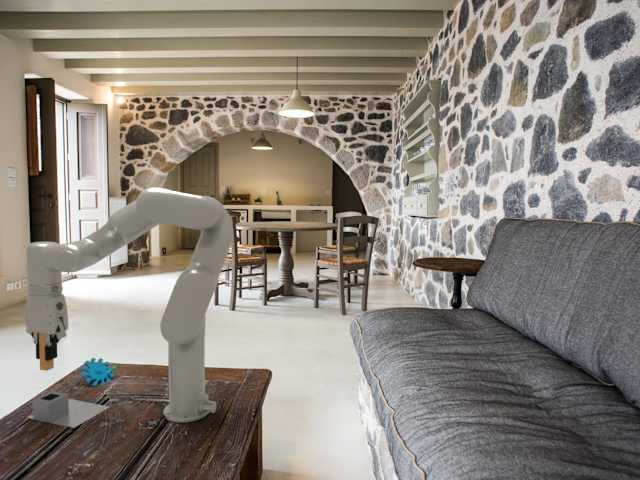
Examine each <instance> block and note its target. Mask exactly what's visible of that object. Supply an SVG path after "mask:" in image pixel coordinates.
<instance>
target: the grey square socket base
mask: <svg viewBox="0 0 640 480" xmlns="http://www.w3.org/2000/svg"><path fill="white" fill-rule="evenodd" d="M31 402H32V407H31V408H32V414H31V415H28V416H27V417H26V418H27V419H32V420H37V421H41V422H46V423H51V424H55V425H59V426H64V427H70V428H73V429H74V428H76V427H79V425H81V424H83V423H85V422H86V421H89V420H90V419H92V418H94V417H95V416H97V415H98V414H100V413H103V411H105V410H107V409H108V408H109V409H110V406H108V405H104V404H103V405H102V404H97V403H92V402H88V401H83V400H78V399H73V398H69V394H68V393H64V392H58V391H52V390H51V391H49V392H47V393H44V394H42V395H40V396H38V397H36V398H34V399H32V401H31Z"/></svg>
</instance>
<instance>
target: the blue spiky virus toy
mask: <svg viewBox="0 0 640 480" xmlns="http://www.w3.org/2000/svg"><path fill="white" fill-rule="evenodd" d="M96 360H97V363H95V362H96ZM103 361H104V359H103V358H100V357H99V359H96V358H95V357H91V359H90V360H85V361H84V365H82V366H81V369H80V370H81V371H83V372H82V373H81V377H82V378H85V377H86V379H85V383H86V384H89V383H90V382H92V381H93V382H92V383H91V386H92V387H97V386H98V383H99V382H100V384H99V386H102V385H105V384H106V383H110V382H112V380H111V379H113V377H114V376H115V374H114V373H113V371H114V370H115V369H116V365H112V366H111V367H108V366H110V362H109V361H105V362H104V363H103ZM90 362H91V364H90ZM101 363H103V364H101ZM105 382H106V383H105Z"/></svg>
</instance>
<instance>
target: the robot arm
mask: <svg viewBox="0 0 640 480" xmlns="http://www.w3.org/2000/svg"><path fill="white" fill-rule="evenodd" d="M232 221H233V220H232V218H231V215H230V214H229V212H228V211H227V209H226V207H225V206H224V205H223V204H222V203H221V202H220V201H219V200H218V199H216V198H215V197H212V196H211V195H210V196H209V195H198V194H193V193H185V192H181V191H175V190H170V189H168V188H165V187H162V186H161V187H160V186H151V187H147V188H145V189H143V190H142V191H141V192H140V193H139V194H138V196H137V198H136V199H135V200H133V201H131V202H130V203H128V204H126V205H125V206H124V207H122V208H120V209H118V210H116V211H114V212H113V213H112V214H111V215H110V216H109V218H108V220H107V222H106V223H105V224H103V225H102V226H101V227H100V228H98V229H97V230H95V231H93V232H92V233H90V234H89V235H87V236H85V237H84V238H82V239H79V240H75V241H71V242H67V243H58V242H55V241H35V242H31V243H29V244H28V245H27V246H26V273H27V274H26V275H27V276H26V277H27V296H26V302H25V315H24V316H25V317H24V321H25V329H26V330H25V331H26V333H27V334H29V335H30V336H31V337H32V339H33V344H35V359H36V360H40V353H39V333H42V334H46V344H47V346H45V360H46V361H49V360H52V359H56V358H58V344H59V343H60V340H61V339H64V338H66V337H67V335H68V334H67V331H68V329H69V314H68V313H69V312H68V305H67V302H66V298H65V297H66V296H65V295H64V294H63V289H64V288H63V286H62V285H63V281H62V273H63V272H64V273H76V272H79V271H82V270H84V269H86V268H90V267H91V266H94V265H95V264H97V263H98V262H100V261H101V260H103V259H105V258H107V257H109V256H110V255H112V254H113V253H115V252H116V251H118V250H119V249H121V248H123V247H124V246H126V245H128V244H130V243H132V242H133V241H135V240H136V239H138V238H140V237H141V236H142V235H144V234H146V233H148V232H149V231H150V230H153V229H155V227H157V226H159V225H161V224H162V225H168V226H175V227H180V228H185V229H190V230H197V231H198V230H199V231H200V236H199V239H198V241H197V243H196V245H195V248H194V250H193V251H194V252H193V254H192V256H191V259H190V261H189V263H188V266H187V267H186V268H185V269H184V270H183V271H182V272H181V274H179V276H178V277H177V279H176V281H175V284H174V285H173V288H172V292H171V294H170V297H169V299H168V302H167V305H166V307H165V309H164V311H163V315H162V317H161V320H160V333H161V335H162V337H163V339H164V340H165V341H166V342H168V348H167V349H168V351H167V352H168V354H167V355H168V358H167V359H168V363H167V364H168V366H167V367H168V404H166V406H165V407H164V409H163V411H162V412H163V417H164V419H166V421H170V422H173V423H190V422H195V421H198V420H201V419H203V418H205V417H206V416H208V415H209V414H210V413H211V414H214V413H215V412H216V410H217V404H218V403H217V401H215V400H210V399H209V397H210V396H209V394H207V393H206V378H205V375H206V373H205V371H206V370H205V368H206V366H205V365H206V363H205V356H206V354H205V351H206V350H205V348H206V347H205V346H206V345H205V342H206V313H207V311H208V308H209V305H210V303H211V300H212V298H213V296H214V294H215V291H216V289H217V286H218V283H219V279H220V275H221V273H222V270H223V267H224V264H225V262H226V258H227V256H228V254H229V250H230V248H231V244H232V239H233V233H234V232H233V230H234V229H233V222H232ZM51 336H53V337H52V339H51Z"/></svg>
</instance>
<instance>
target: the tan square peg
mask: <svg viewBox="0 0 640 480" xmlns="http://www.w3.org/2000/svg"><path fill="white" fill-rule="evenodd" d="M53 336H54V335H53ZM53 336H51V339H52V337H53ZM45 346H47V344H46V334H42V333H39V353H40V359H39V370H40V371H44V372H45V371H49V370H52V369H54V367H55V363H54V362H55V361H54V359H55V358H54V359H52V360H49V361H46V360H45Z"/></svg>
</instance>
